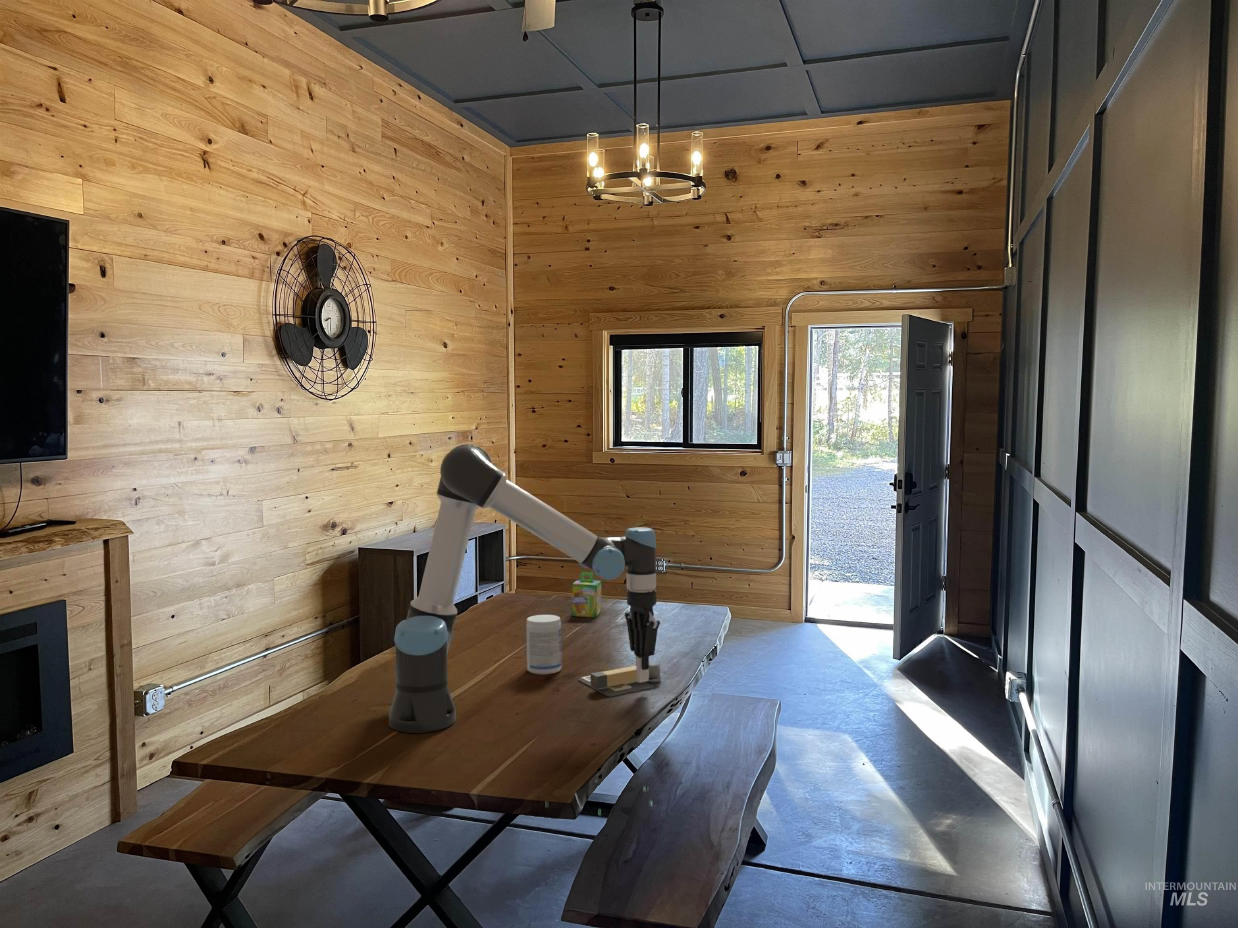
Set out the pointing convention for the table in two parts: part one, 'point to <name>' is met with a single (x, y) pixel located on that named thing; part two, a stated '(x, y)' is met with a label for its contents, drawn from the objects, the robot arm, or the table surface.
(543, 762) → the table surface
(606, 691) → the mat
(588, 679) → the label
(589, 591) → the chalk box
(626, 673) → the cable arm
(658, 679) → the pivot post
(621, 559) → the robot arm
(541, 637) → the supplement tub
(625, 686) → the label
